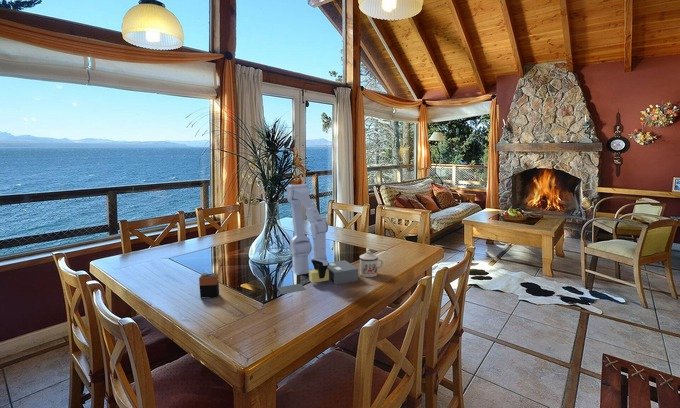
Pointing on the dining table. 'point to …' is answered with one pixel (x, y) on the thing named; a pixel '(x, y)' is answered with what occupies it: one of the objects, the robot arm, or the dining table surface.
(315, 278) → the yellow block
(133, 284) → the dining table surface
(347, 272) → the socket box
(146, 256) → the dining table surface
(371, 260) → the teacup with lid
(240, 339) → the dining table surface
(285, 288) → the deck mat
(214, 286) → the battery
